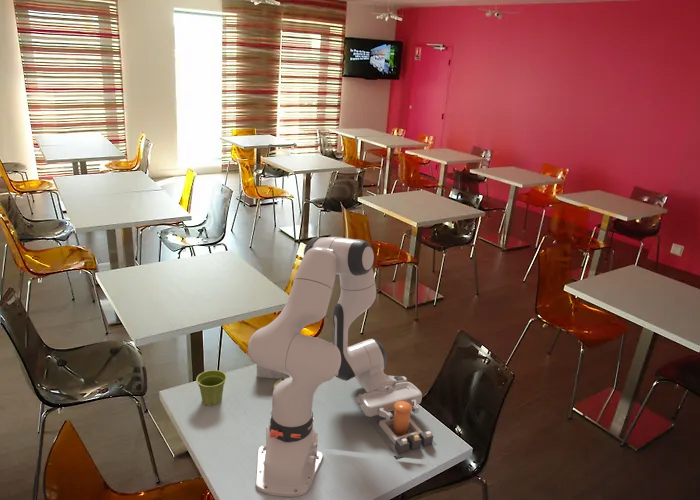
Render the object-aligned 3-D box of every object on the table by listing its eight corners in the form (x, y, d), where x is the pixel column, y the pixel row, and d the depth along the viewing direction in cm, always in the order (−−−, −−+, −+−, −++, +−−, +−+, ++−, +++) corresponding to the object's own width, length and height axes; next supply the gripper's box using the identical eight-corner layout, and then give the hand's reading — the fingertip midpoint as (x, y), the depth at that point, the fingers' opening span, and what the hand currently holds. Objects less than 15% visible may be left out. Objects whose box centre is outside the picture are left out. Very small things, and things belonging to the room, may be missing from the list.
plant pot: (192, 398, 175) (191, 375, 172) (218, 388, 181) (218, 366, 178) (205, 413, 168) (204, 389, 166) (231, 402, 174) (231, 380, 171)
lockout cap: (409, 437, 163) (412, 412, 159) (391, 435, 163) (394, 411, 160) (408, 425, 168) (411, 401, 165) (391, 424, 168) (393, 400, 165)
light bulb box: (288, 369, 195) (289, 343, 191) (286, 379, 189) (287, 353, 185) (259, 367, 195) (259, 341, 191) (256, 377, 188) (256, 351, 185)
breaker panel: (436, 447, 161) (438, 433, 159) (396, 459, 155) (398, 445, 153) (397, 403, 180) (398, 390, 178) (360, 412, 174) (361, 399, 172)
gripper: (354, 388, 168) (375, 414, 157) (408, 375, 177) (432, 398, 166) (352, 404, 170) (373, 431, 159) (406, 391, 179) (430, 415, 168)
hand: (404, 414), depth 162 cm, fingers open, 8 cm apart
